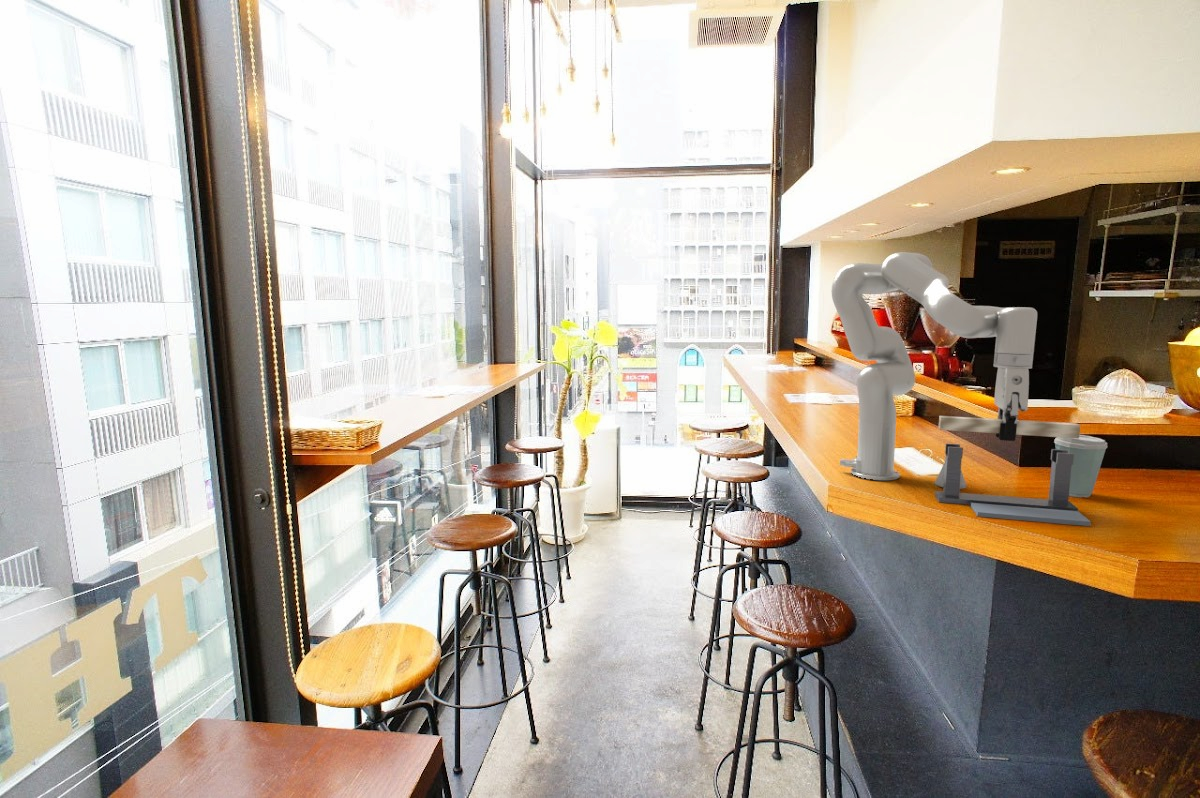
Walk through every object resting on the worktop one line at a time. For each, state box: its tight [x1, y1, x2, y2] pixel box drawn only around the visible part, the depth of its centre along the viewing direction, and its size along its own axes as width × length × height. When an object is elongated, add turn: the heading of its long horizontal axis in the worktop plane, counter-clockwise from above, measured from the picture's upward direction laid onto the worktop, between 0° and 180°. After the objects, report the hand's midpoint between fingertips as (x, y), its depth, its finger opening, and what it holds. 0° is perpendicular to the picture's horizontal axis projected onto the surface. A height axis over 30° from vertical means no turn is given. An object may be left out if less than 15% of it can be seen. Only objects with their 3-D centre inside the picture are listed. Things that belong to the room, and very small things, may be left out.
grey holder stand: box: [934, 443, 1079, 512], centre depth 150 cm, size 28×6×14 cm, turn 70°
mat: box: [970, 503, 1092, 527], centre depth 142 cm, size 21×8×1 cm, turn 70°
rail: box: [938, 415, 1081, 438], centre depth 149 cm, size 28×2×3 cm, turn 70°
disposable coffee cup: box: [1053, 434, 1108, 498], centre depth 158 cm, size 11×11×15 cm
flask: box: [933, 461, 968, 490], centre depth 167 cm, size 7×7×10 cm
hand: (1005, 438), depth 150 cm, fingers closed on rail, 2 cm apart
